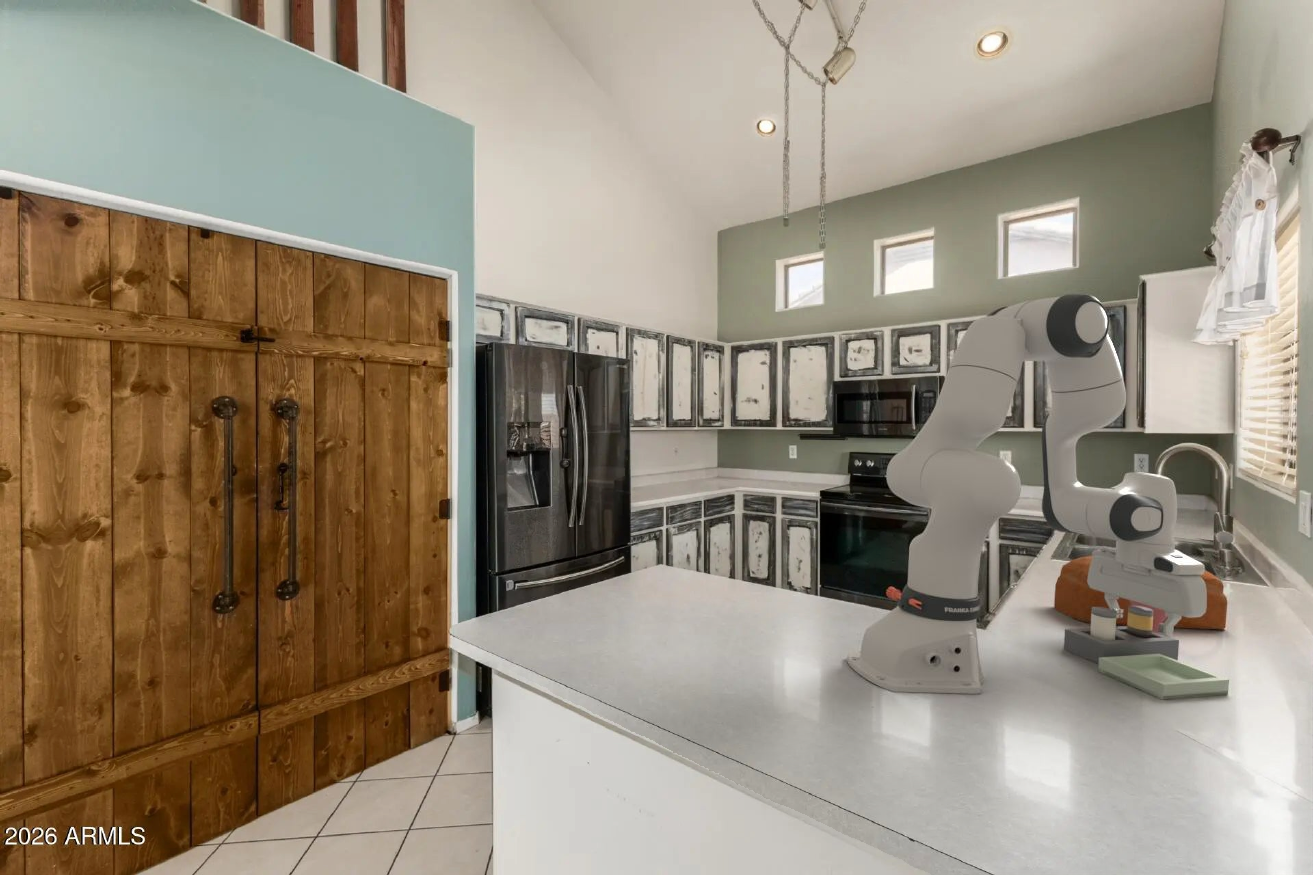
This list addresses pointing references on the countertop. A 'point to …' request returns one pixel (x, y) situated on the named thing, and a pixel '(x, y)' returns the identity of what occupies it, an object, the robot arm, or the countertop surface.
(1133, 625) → the cylinder
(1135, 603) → the light bulb
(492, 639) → the countertop surface
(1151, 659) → the tray
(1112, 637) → the ball
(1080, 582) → the bread
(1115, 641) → the fuse holder
